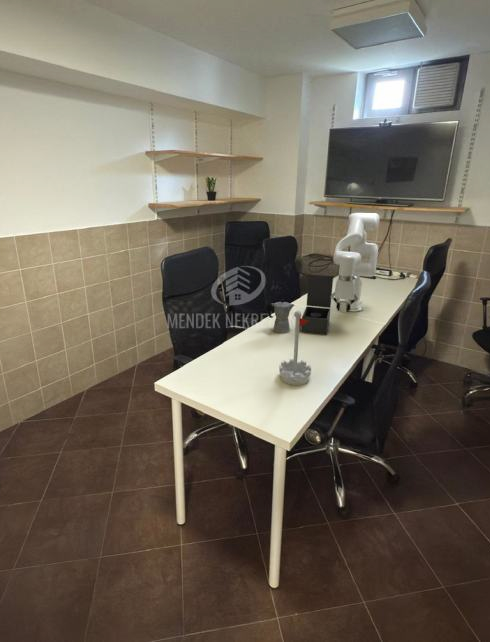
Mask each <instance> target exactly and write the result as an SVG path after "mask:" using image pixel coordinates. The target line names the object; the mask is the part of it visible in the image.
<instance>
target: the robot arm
mask: <svg viewBox="0 0 490 642" xmlns="http://www.w3.org/2000/svg"><path fill="white" fill-rule="evenodd" d="M380 221H381V220H380V215H379V214H378V213H374V212H373V213H371V212H353V213H351V214H349V216H348V229H347V232H346V233H347V234H346V236H344V237H343V238H341V239H340V240H339V241H338V242H337V243H336V245H335V248H334V253H333V257H332V261H333V263H334V264H335V265H337V266H339V267H338V278H337V279H336V281H335V287H334V292H332V295H331V296H330V297H331V300H332V301H334V302H335V304H336V307H335V308H336V311H337V312H340V311H339V302H340V301H341V300H344V301H347V302H348V307H347V313H349V312H355V313H356V312H361V311H362V310H363V307H362V306H361V304H362V303H363V300H362V299H361V296H362V287H363V281H362V279H361V277H367V278H372V277H374V276H376V272H377V264H378V257H379V256H378V255H379V246H378V244H376V243H374V242H367V237H368V233H367V232H366V231H375V230H377V228H378V227H379V225H380ZM347 247H350V251H345V250H344V249H345V248H347ZM343 250H344V251H343ZM363 259H367V260H363Z"/></svg>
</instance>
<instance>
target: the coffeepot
mask: <svg viewBox="0 0 490 642" xmlns="http://www.w3.org/2000/svg"><path fill="white" fill-rule="evenodd" d="M295 306H296V305H295V304H294V303H289V302H287V301H285V299H284V298H281V299H280V301H278V302H277V301H276V302H275V303H268V304H266V306H265V308H266V309H265V310H266V311H267V314H268V317H269V318H270V319H273V318H274V316H275V318H274V319H275V320H274V323H273V324H274V325H273V332H275V333H279V334H287V333H289V332H290V329H291V326H290V321H289V316H290V313H291V311H292V309H293V308H294V307H295ZM271 308H273V309H274V316H273V315H272V312H271Z"/></svg>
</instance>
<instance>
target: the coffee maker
mask: <svg viewBox="0 0 490 642" xmlns="http://www.w3.org/2000/svg"><path fill="white" fill-rule="evenodd" d="M314 312H316V313H320V314H321V315H322V316H321V318H313V317H310V314H311V313H314ZM301 318H302V319H305V320H307V321H308V322H306V323H305V324H304V325H302V326H301V327H300V329H301V331H300V332H302V333H310V334H315V335H317V334H318V335H324V336H325V335H328V330H329V326H330V319H331V308H326V307H315V306H307V305H306V307H305V309H304V311H303V314H302V315H301Z"/></svg>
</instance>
